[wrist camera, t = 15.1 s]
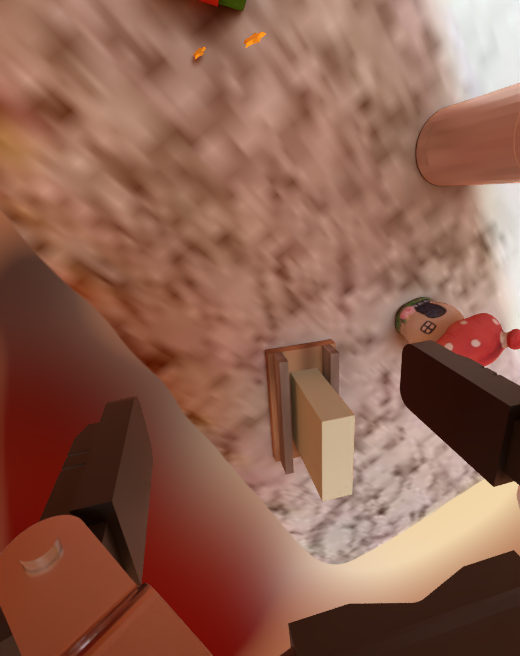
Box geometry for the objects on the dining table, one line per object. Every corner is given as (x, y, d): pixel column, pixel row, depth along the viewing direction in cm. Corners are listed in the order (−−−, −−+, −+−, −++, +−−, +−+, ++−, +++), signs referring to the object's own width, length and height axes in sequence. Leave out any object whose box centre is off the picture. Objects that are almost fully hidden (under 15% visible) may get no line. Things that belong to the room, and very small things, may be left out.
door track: (331, 339, 51) (344, 351, 47) (330, 442, 58) (342, 461, 54) (265, 350, 49) (273, 363, 45) (273, 455, 56) (280, 475, 52)
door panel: (316, 367, 50) (354, 415, 40) (317, 434, 55) (351, 494, 44) (290, 372, 50) (321, 421, 39) (293, 439, 54) (322, 501, 43)
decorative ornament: (443, 288, 52) (537, 321, 39) (444, 327, 55) (533, 370, 41) (387, 307, 51) (463, 347, 38) (391, 345, 54) (464, 395, 40)
